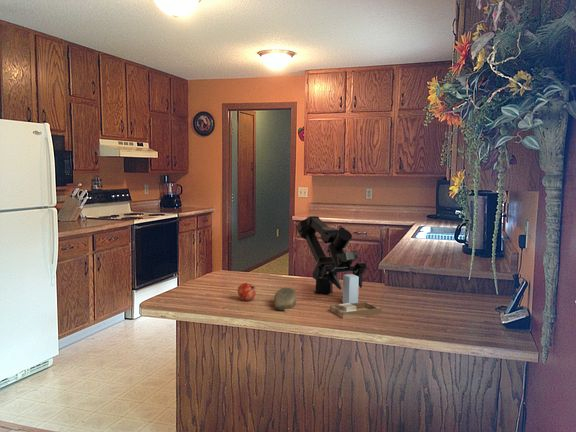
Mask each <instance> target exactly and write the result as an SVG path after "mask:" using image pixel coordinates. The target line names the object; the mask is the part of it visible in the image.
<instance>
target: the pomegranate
mask: <svg viewBox="0 0 576 432" xmlns="http://www.w3.org/2000/svg"><path fill="white" fill-rule="evenodd" d="M236 291H237V294H238V296H239V299H241V300H242V301H244V302H249V301H251V300H254V299H255V298H256V295H257V293H256V292H257V291H256V286H255V285H252V284H250V283H247V282H244V283H241V284H240V285H239V286H238V288H237V289H236Z"/></svg>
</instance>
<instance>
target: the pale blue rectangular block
mask: <svg viewBox="0 0 576 432" xmlns="http://www.w3.org/2000/svg"><path fill="white" fill-rule="evenodd" d="M345 303H349V304H350V303H359V277H358V276H356V275H354V274H353V273H349V274H343V276H342V304H345Z"/></svg>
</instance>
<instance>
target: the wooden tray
mask: <svg viewBox="0 0 576 432" xmlns="http://www.w3.org/2000/svg"><path fill="white" fill-rule="evenodd" d="M350 304H352V305H354V306H356V311H349V312H343V311H342V310H340V309H338V306H339V304H335V305H334V304H333V305H329V312H331V313H333V314H334V315H336V316H338V317H339V318H341V319H342V320H344V319H352V318H353V319H354V318H362V317H369V316H378V315H382V312H383V311H382V308H381V307H379V306H377V305H375V304H373V303H370V302H368V301H361V302H358V303H350Z"/></svg>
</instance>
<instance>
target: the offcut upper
mask: <svg viewBox="0 0 576 432" xmlns="http://www.w3.org/2000/svg"><path fill="white" fill-rule="evenodd" d="M338 305H339V306H338V308H339V309H341V310H343V311H345V312H349V311H356V306H354V305H352V304H349V303H345V304H343V303H339V304H338Z"/></svg>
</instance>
